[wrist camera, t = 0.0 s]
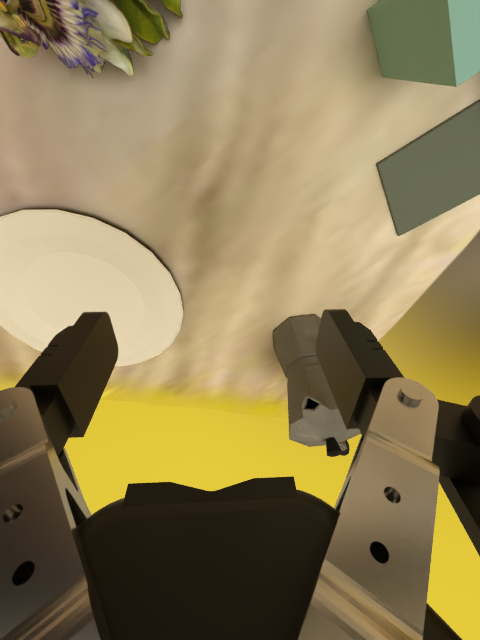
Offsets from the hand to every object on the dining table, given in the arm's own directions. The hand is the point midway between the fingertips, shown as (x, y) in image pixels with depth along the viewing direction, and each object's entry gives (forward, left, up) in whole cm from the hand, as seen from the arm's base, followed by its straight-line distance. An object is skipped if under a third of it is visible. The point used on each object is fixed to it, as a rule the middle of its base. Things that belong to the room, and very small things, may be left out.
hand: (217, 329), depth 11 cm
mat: (-10, +19, -22) cm, 31 cm away
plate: (+23, -8, -23) cm, 33 cm away
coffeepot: (+16, +23, -23) cm, 36 cm away
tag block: (-15, +8, -22) cm, 28 cm away
